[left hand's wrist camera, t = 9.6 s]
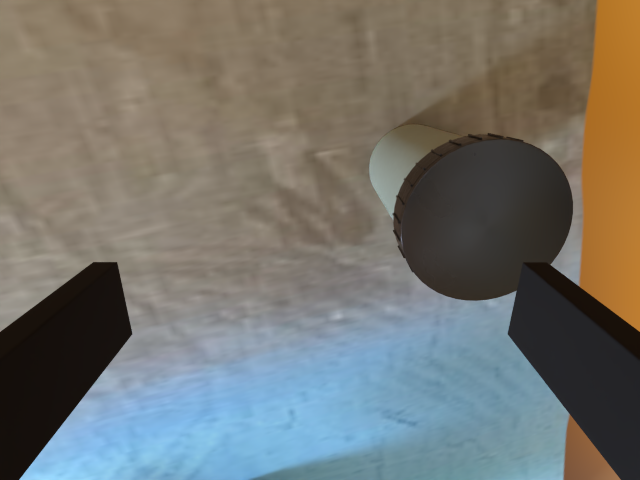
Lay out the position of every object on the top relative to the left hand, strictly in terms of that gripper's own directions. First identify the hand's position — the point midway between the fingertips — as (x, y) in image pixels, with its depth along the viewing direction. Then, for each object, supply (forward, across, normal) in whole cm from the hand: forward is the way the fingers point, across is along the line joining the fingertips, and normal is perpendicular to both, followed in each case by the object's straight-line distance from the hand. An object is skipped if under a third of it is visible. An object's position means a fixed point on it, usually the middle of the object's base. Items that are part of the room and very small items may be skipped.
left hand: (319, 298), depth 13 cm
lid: (+9, +9, 0) cm, 12 cm away
